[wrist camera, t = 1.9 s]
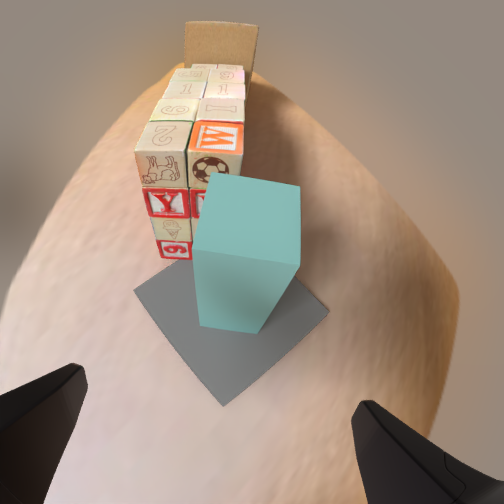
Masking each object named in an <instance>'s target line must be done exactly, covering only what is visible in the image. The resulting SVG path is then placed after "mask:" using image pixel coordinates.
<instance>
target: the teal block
mask: <svg viewBox="0 0 504 504" xmlns="http://www.w3.org/2000/svg"><path fill="white" fill-rule="evenodd" d="M300 249H301V214H300V186H295V185H289V184H284V183H278V182H273V181H267V180H261V179H255V178H249V177H243V176H236V175H230V174H223V173H216V172H211V175H210V179H209V182H208V186H207V190H206V193H205V197H204V201H203V205H202V209H201V213H200V217H199V221H198V225H197V229H196V233H195V237H194V241H193V245H192V258H193V269H194V279H195V288H196V297H197V306H198V314H199V322H200V326H204V327H210V328H217V329H223V330H230V331H237V332H245V333H253V334H258V332H259V331H260V329H261V327H262V326H263V324H264V323H265V321H266V320H267V318H268V317H269V315H270V313H271V312H272V310H273V309H274V307H275V306H276V304H277V302H278V301H279V299H280V298H281V296H282V294H283V293H284V291H285V289H286V288H287V286H288V285H289V283H290V281H291V280H292V278H293V276H294V275H295V273H296V272H297V270H298V268H299V267H300Z"/></svg>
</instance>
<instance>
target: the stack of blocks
mask: <svg viewBox="0 0 504 504" xmlns="http://www.w3.org/2000/svg"><path fill="white" fill-rule="evenodd" d="M245 97H246V96H245V71H244V70H243V66H240V65H226V64H218V65H217V64H192V66H191V68H185V69H183V68H180V69H176V71H175V72H174V74H173V76H172V78H171V80H170V83H169V84H168V86H167V88H166V91H165V92H164V94H163V96H162V99H160V100H159V102H158V104H157V105H156V107H155V109H154V111H153V113H152V115H151V117H150V119H149V122H148V123H147V124H146V126H145V128H144V130H143V132H142V134H141V136H140V138H139V140H138V142H137V144H136V146H135V150H134V153H135V158H136V163H137V166H138V172H139V176H140V180H141V183H142V185H143V186H142V191H143V196H144V200H145V204H146V207H147V211H148V214H149V216H150V220H151V223H152V226H153V230H154V234H155V237H156V243H157V246H158V249H159V253H160V256H161V258H166V259H181V260H193V258H192V245H193V241H194V237H195V233H196V229H197V225H198V221H199V217H200V213H201V209H202V205H203V201H204V197H205V193H206V190H207V186H208V182H209V179H210V175H211V172H216V173H223V174H230V175H236V176H240V173H241V166H242V160H243V137H244V122H245V113H244V106H245V99H246V98H245Z"/></svg>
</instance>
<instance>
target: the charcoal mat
mask: <svg viewBox="0 0 504 504" xmlns="http://www.w3.org/2000/svg"><path fill="white" fill-rule="evenodd" d="M133 291H134V292H135V294H136V295H137V297H138V298H139V300H140V301H141V303H142V304H143V306H144V307H145V309H146V310H147V311H148V313H149V314H150V316H151V317H152V319H153V320H154V321H155V323H156V324H157V326H158V327H159V328H160V330H161V331H162V332H163V334H164V335H165V337H166V338H167V339H168V341H169V342H170V343H171V345H172V346H173V347H174V348H175V350H176V351H177V352H178V354H179V355H180V356H181V357H182V359H183V360H184V361H185V362H186V364H187V365H188V366H189V367H190V369H191V370H192V371H193V372H194V374H195V375H196V376H197V377H198V378H199V380H200V381H201V382H202V383H203V384H204V386H205V387H206V388H207V389H208V390H209V391H210V393H211V394H212V395H213V396H214V397H215V398H216V399H217V400H218V402H219V403H220V404H221V405H222V406H225V405H226V404H227V403H229V402H230V401H231V400H232V399H234V398H235V397H236V396H237V395H239V394H240V393H241V392H242V391H243V390H245V389H246V388H247V387H248V386H250V385H251V384H252V383H253V382H254V381H255V380H257V379H258V378H259V377H260V376H261V375H263V374H264V373H265V372H266V371H267V370H268V369H269V368H271V367H272V366H273V365H274V364H275V363H276V362H277V361H279V360H280V359H281V358H282V357H283V356H284V355H285V354H286V353H287V352H289V351H290V350H291V349H292V348H293V347H294V346H295V345H296V344H297V343H298V342H299V341H300V340H302V339H303V338H304V337H305V336H306V335H307V334H308V333H309V332H310V331H311V330H312V329H313V328H314V327H315V326H316V325H317V324H318V323H319V322H320V321H321V320H322V319H323V318H324V317H325V316H326V315H327V314H328V313H329V311H328V310H327V309H326V308H325V307H324V306H323V305H322V304H321V303H320V302H319V301H318V300H317V299H316V298H315V297H314V296H313V295H312V294H311V292H310V291H309V290H308V289H307V288H306V287H305V286H304V285H303V284H302V283H301V282H300V281H299V280H298V279H297V278H296V277H295V276H293V278H292V280H291V281H290V283H289V285H288V286H287V288H286V289H285V291H284V293H283V294H282V296H281V298H280V299H279V301H278V302H277V304H276V306H275V307H274V309H273V310H272V312H271V313H270V315H269V317H268V318H267V320H266V321H265V323H264V324H263V326H262V327H261V329H260V331H259V332H258V334H253V333H245V332H237V331H230V330H223V329H217V328H210V327H204V326H200V322H199V314H198V306H197V297H196V288H195V279H194V269H193V260H181V259H179V260H178V261H176V262H175V263H173V264H172V265H170V266H168V267H167V268H165V269H164V270H162V271H161V272H159V273H158V274H156V275H155V276H153V277H152V278H150V279H149V280H147V281H146V282H144V283H143V284H141V285H140V286H139V287H137V288H136V289H134V290H133Z"/></svg>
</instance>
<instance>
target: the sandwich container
mask: <svg viewBox="0 0 504 504" xmlns="http://www.w3.org/2000/svg"><path fill="white" fill-rule="evenodd" d="M258 31H259V27H258V26H257V25H251V24H243V23H234V22H233V23H232V22H222V21H192V22H187V23H186V26H185V68H191V66H192V64H217V65H218V64H226V65H240V66H243V70H244V71H245V96H246V97H245V98H246V99H245V106H244V113H245V108H246V103H247V98H248V93H249V88H250V82H251V77H252V71H253V64H254V58H255V51H256V44H257V37H258Z"/></svg>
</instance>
